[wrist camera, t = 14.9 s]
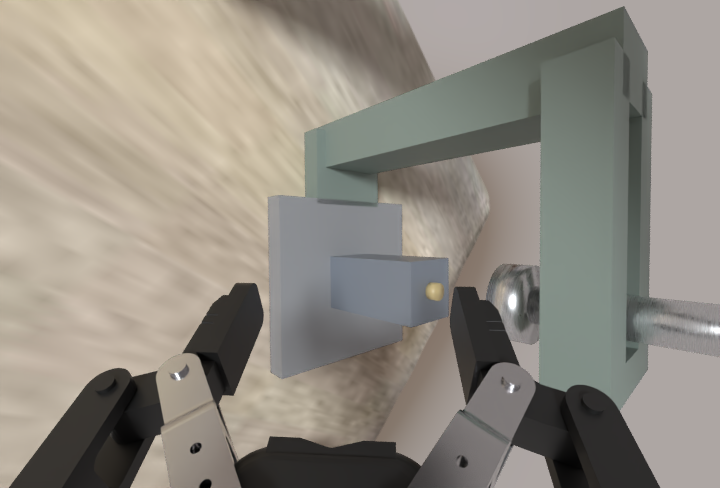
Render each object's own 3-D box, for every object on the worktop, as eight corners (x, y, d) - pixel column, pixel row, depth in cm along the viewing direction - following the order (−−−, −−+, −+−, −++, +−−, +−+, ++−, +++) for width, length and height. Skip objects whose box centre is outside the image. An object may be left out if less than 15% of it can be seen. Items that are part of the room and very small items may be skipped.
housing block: (330, 256, 34) (419, 262, 26) (367, 253, 37) (456, 258, 29) (330, 307, 34) (419, 329, 26) (368, 300, 37) (456, 317, 29)
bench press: (266, 118, 31) (592, -54, 13) (388, 147, 42) (661, 77, 23) (270, 372, 32) (585, 561, 13) (389, 336, 43) (655, 413, 24)
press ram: (485, 266, 22) (1006, 301, 10) (519, 261, 25) (940, 284, 13) (485, 345, 22) (998, 471, 10) (519, 329, 25) (934, 411, 14)
